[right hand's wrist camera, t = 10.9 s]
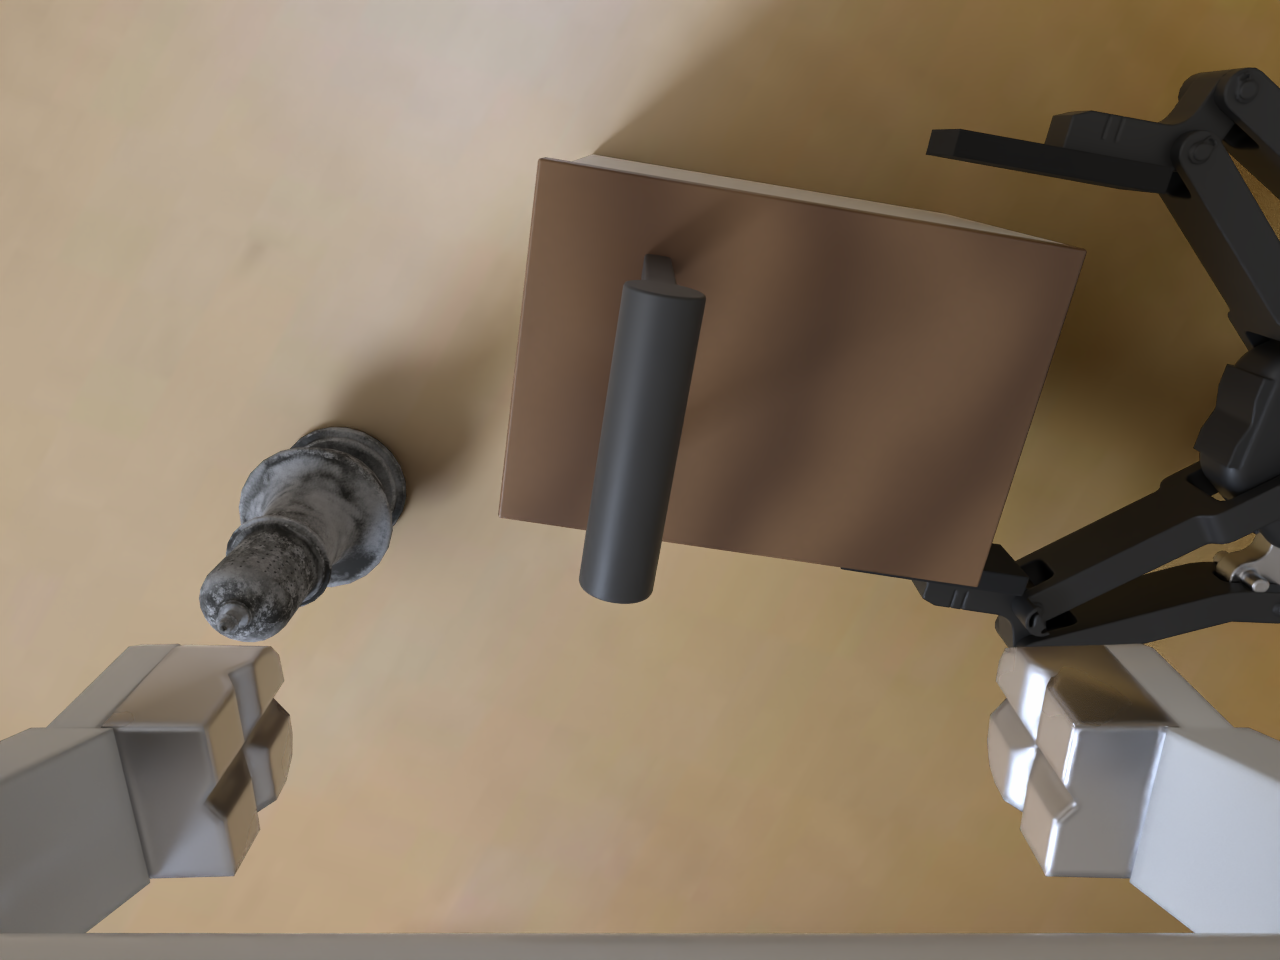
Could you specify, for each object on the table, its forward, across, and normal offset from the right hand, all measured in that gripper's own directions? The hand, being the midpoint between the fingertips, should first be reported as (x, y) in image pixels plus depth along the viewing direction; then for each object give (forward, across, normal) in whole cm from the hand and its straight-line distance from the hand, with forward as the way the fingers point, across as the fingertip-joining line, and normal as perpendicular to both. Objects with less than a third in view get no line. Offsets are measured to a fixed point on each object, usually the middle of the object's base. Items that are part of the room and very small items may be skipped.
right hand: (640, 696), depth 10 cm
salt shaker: (+27, +13, +8) cm, 31 cm away
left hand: (+21, -8, +1) cm, 22 cm away
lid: (+17, -4, +1) cm, 17 cm away
